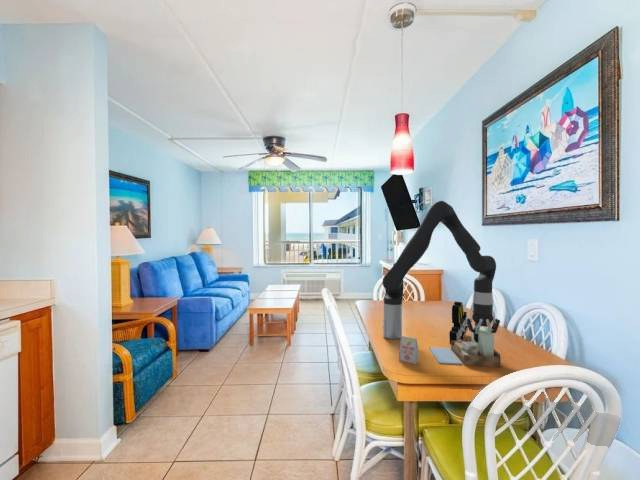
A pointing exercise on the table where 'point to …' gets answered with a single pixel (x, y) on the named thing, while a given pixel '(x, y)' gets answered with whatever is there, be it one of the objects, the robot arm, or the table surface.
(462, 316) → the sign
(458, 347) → the offcut
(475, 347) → the offcut
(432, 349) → the mat
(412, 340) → the printed grey box
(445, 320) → the table surface
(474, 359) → the wooden tray
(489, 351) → the pale green slab
